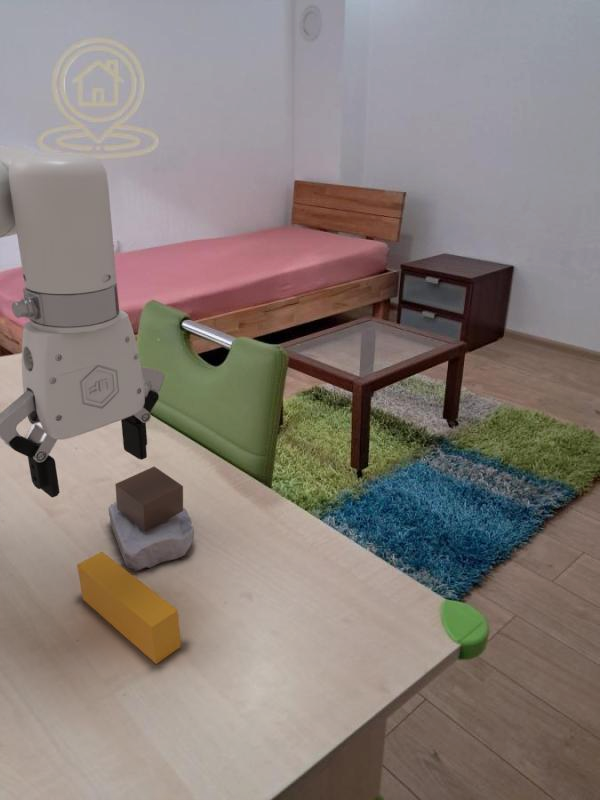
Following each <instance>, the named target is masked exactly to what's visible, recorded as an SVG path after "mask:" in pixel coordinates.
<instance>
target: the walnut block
mask: <svg viewBox="0 0 600 800" xmlns="http://www.w3.org/2000/svg"><path fill="white" fill-rule="evenodd" d="M114 487H115V496H116V497H115V499H116V501H117V509H118V510H119V511H120V512H121V513H123V514H124V515H125V516H126V517H128V518H129V519H130V520H131V521H133V522H134V523H135V524H136V525H138V526H139V527H140V528H141V529H143V530H144V531H147V530H148V529H150V528H152V527H154V526H156V525H158V524H160V523H162V522H164V521H165V520H167V519H169V518H171V517H173V516H175V515H177V514H179V513H180V512H182V511H183V508H184V486H183V485H182V484H181V483H180V482H179V481H177V480H175V479H173V478H172V477H170V476H169V475H168V474H166V473H165V472H164V471H162V470H160V469H159V468H157V467H156V466H152V467H150V468H147V469H145V470H143V471H141V472H139V473H136V474H134V475H131V476H130V477H128V478H125V479H123V480H120V481H119V482H117V483H115V485H114Z"/></svg>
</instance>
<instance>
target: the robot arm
mask: <svg viewBox="0 0 600 800" xmlns="http://www.w3.org/2000/svg"><path fill="white" fill-rule="evenodd" d="M108 180H109V179H108V174H107V170H106V168H105V166H104V164H103V162H101V160H100V159H99V158H97V157H95V156H93V155H90V154H86V153H78V152H61V151H59V152H58V151H43V152H40V151H39V152H38V151H33V150H29V149H27V148H26V149H25V148H21V147H18V146H12V145H8V144H7V145H6V144H0V238H5V237H10V236H13V235H14V236H15V235H16V236H17V242H18V243H17V244H18V249H19V256H20V262H21V270H22V276H23V283H24V288H23V289H22V293H23V298H21V299H20V300H19V301H13V302H12V304H11V310H12V313H13V315H14V316H15V318H17V319H20V318H26V319H28V320H29V321H27V322H24V324H23V330H22V338H21V339H22V340H21V376H22V389H23V394H21V395H20V396H19V397H18V398H16V399H15V400H14V401H13V402H12V403H11V404H9V405H8V406H6V408H4V410H2V411H1V412H0V439H1V440H2V441H3V443H4V444H5V445H7V446H8V447H9V448H11V449H12V450H13V451H15V452H17V453H19V454H21V455H23V456H25V457H27V460H28V467H29V473H30V477H31V478H30V479H31V482H32V484H33V485H34V487H35V488H36V489H38V490H42V491H43V492H44V493H46V495H48V496H49V497H50V498H55V497H57V496H59V494H60V486H59V479H58V473H57V464H56V460H55V458H54V457H53V456H51V455H50V454H51V451H52V450H53V448H54V447H55V445H56V443H57V442H58V440H59V441H62V440H69V439H72V438H76V437H77V436H80V435H84V434H87V433H89V432H92V431H96V430H98V429H100V428H103V427H105V426H109V425H111V424H115V423H117V422H119V421H120V423H121V432H122V433H121V435H122V444H123V450H124V451H125V452H126V453H128V454H129V455H132V456H133V457H134V458H136V459H138V460H141V461H143V460H145V459H147V457H148V455H147V445H148V436H147V435H148V434H147V423H148V422H149V421H150V420H151V417H152V414H151V412H152V410H153V409H154V408H155V406H156V404H157V402H158V400H159V398H160V395H159V392H160V391H161V388H162V385H163V383H164V380H165V373H164V372H162V371H160V370H158V369H156V368H152V367H148V366H144V365H142V363H141V357H140V353H139V348H138V344H137V340H136V339H137V338H136V336H135V333H134V329H133V326H132V322H131V319H130V317H129V314H128V313H127V311H123V310H121V309H120V301H119V292H118V282H117V272H116V271H117V270H116V269H117V268H116V257H115V247H114V245H115V244H114V236H113V224H112V213H111V200H110V191H109V190H110V189H109V181H108ZM26 418H27V420H28V421H29V423H30V424H31V425H30V427H29V429H28V431H27V433H26V434H25V435H24V436H22V435H21V434H20V433H19V432H18V431H17V428H18V427H17V426H18V425H19V424H20V423H21V422H23V421H24V420H25V419H26Z"/></svg>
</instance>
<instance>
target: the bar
mask: <svg viewBox="0 0 600 800" xmlns="http://www.w3.org/2000/svg"><path fill="white" fill-rule="evenodd" d="M76 567H77V574H78V580H79V584H80V590H81V596H82V600H83V601H84V602H85V603H86V604H87V605H89V606H90V607H91V608H92V609H93V610H94V611H95V612H96V613H98V614H99V615H100V616H101V617H102V618H103V619H104V620H105V621H107V622H108V623H109V624H110V625H112V626H113V627H114V629H116V630H117V631H118V632H119V633H120V634H122V636H124V638H126V640H128V641H129V642H130V643H131V644H133V645H134V647H136V648H137V649H138V650H140V651H141V652H142V653H143V654H144V655H145V656H146V657H148V659H150V660H151V661H152V662H153V663H154V664H156V665H158V663H161V662H162V661H163V660H165V659H166V658H167V657H168V656H170V655H171V654H172V653H174V652H175V651H177V650H178V649H180V648H181V647H182V641H181V632H180V631H181V630H180V620H179V611H178V608H175V606H173V605H172V604H171V603H169V602H168V601H166V599H164V598H163V597H161V596H160V595H159V594H157V593H156V592H155V591H153V590H152V589H151V588H150V587H148V586H147V585H146V584H144V583H143V582H142V581H141V580H140V579H138V578H137V577H136V576H134V575H133V574H132V573H130V572H129V571H127V570H126V569H125V568H124V567H122V565H120V564H119V563H117V562H116V561H115V560H114V559H112V558H111V557H110V556H108V555H107V554H105V553H104V552H103V551H100V552H98V553H95V555H92V556H90V557H89V558H87V559H84V560H83V561H81V562H78V563H77V564H76Z"/></svg>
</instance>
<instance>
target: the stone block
mask: <svg viewBox="0 0 600 800" xmlns="http://www.w3.org/2000/svg"><path fill="white" fill-rule="evenodd" d="M108 516H109V523H110V526H111V529H112V532H113V534H114V537H115V541H116V543H117V545H118V548H119V551H120V553H121V556H122V559H123V562H124V565H125V566H126V568H128V569H131V570H133V572H139V571H140V570H143V569H145V568H148V569H150V568H153V567H155V566H157V565H159V564H161V563H165V562H169V561H172V560H173V561H174V560H177V559H180V558H182V557H184V556H185V555H186V553H187V552H188V550H189V549H190V547H191V546H192V543H193V539H194V531H195V530H194V527H193V526H192V520H191V519H192V518H191V516H190V515H189V512H188V511H187V509H186V508H185V507H183V511H182V512H180V513H179V514H177V515H175V516H173V517H171V518H169V519H167V520H165V521H164V522H162V523H160V524H158V525H156V526H154V527H152V528H150V529H148V530H147V531H144V530H143V529H141V528H140V527H139V526H138V525H136V524H135V523H134V522H133V521H131V520H130V519H129V518H128V517H126V516H125V515H124V514H123V513H121V512H120V511H119V510H118V509H117V500H116V501H115V502H113V504H110V505H109V507H108Z"/></svg>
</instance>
